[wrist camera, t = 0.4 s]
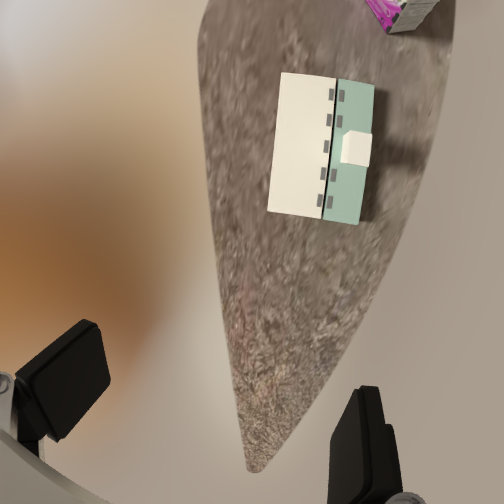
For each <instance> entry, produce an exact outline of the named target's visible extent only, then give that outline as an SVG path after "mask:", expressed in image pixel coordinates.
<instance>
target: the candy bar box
mask: <svg viewBox="0 0 504 504" xmlns="http://www.w3.org/2000/svg"><path fill="white" fill-rule="evenodd" d="M365 1H366V2H367V4H368V5H369V7H370V8H371V10H372V11H373V13H374V14H375V16H376V17H377V19H378V21H379V22H380V24H381V26H382V27H383V29H384V31H385V32H386V34H391V33H396V32H401V31H410V30H416V29H417V28H418V26H419V25H420V24H421V23H422V21H423V20H424V19H425V18H426V17H427V15H428V14H429V13H430V12H431V11H432V9H433V8H434V7H435V6H436V5H437V4H438V2H439V1H440V0H365Z"/></svg>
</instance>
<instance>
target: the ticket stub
mask: <svg viewBox="0 0 504 504" xmlns="http://www.w3.org/2000/svg"><path fill="white" fill-rule="evenodd" d="M373 101H374V85H370V84H365V83H360V82H355V81H349V80H344V79H339V80H338V83H337V95H336V107H335V118H334V129H333V139H332V148H331V157H330V165H329V173H328V181H327V189H326V196H325V203H324V210H323V219H324V220H330V221H336V222H342V223H349V224H355V225H358V223H359V217H360V211H361V205H362V199H363V192H364V185H365V178H366V171H367V167H369V161H370V152H371V143H372V134H371V126H372V114H373Z"/></svg>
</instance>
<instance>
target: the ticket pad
mask: <svg viewBox="0 0 504 504" xmlns="http://www.w3.org/2000/svg"><path fill="white" fill-rule="evenodd" d="M335 85H336V79H334V78H328V77H320V76H312V75H303V74H293V73H281V83H280V93H279V103H278V114H277V124H276V134H275V143H274V153H273V163H272V172H271V182H270V191H269V201H268V210H267V211H271V212H279V213H286V214H293V215H300V216H306V217H313V218H320V219H321V212H322V205H323V198H324V191H325V183H326V176H327V168H328V159H329V151H330V141H331V132H332V122H333V111H334V99H335Z"/></svg>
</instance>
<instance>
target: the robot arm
mask: <svg viewBox="0 0 504 504" xmlns="http://www.w3.org/2000/svg"><path fill="white" fill-rule="evenodd" d="M15 376H16V379H15V380H14V379H13V377H12V376H11V375H10V374H9V373H7V372H0V504H111V503H109V502H108V501H106V500H104V499H102V498H100V497H98V496H96V495H95V494H93V493H91V492H89V491H88V490H86V489H84V488H83V487H81V486H79V485H78V484H76V483H74V482H73V481H71V480H70V479H68V478H66V477H65V476H63V475H62V474H60V473H59V472H57V471H56V470H54V469H53V468H52V467H50V466H49V465H47V464H46V463H45V457H44V441H43V437H44V436H45V435H46V434H47V436H48V437H49V438H51V439H52V440H54V441H55V442H57V443H58V442H59V440H60V439H63V438H65V437H66V436H67V435H68V434H69V432H70V431H71V430H72V429H73V428H74V426H75V425H76V424H77V423H78V422H79V421H80V419H81V418H82V417H83V416H84V415H85V413H86V412H87V411H88V410H89V408H91V406H92V405H93V404H94V403H95V402H96V400H97V399H98V398H99V397H100V396H101V395H102V393H103V392H104V391H105V390H106V389H107V387H108V386H109V385H110V381H111V378H110V374H109V370H108V365H107V361H106V356H105V351H104V346H103V342H102V336H101V331H100V329H99V328H98V326H97V324H96V323H93V322H91V321H88V320H86V319H82V320H81V321H79V322H78V323H77V324H75V325H74V326H73V327H72V328H70V329H69V330H68V331H66V332H65V333H64V334H63V335H62V336H60V337H59V338H58V339H56V340H55V341H54V342H53V343H51V344H50V345H49V346H48V347H47V348H45V349H44V350H43V351H41V352H40V353H39V354H38V355H37V356H35V357H34V358H33V359H32V360H30V361H29V362H28V363H27V364H26V365H24V366H23V367H22V368H21V369H20V370H18V371H17V372H16V373H15ZM327 504H426V503H425V501H424V500H423V498H421V497H420V496H419V495H417V494H414V493H410V492H403V487H402V479H401V471H400V464H399V458H398V452H397V445H396V440H395V434H394V429H393V426H392V425H391V424H385V419H384V413H383V407H382V402H381V397H380V392H379V389H378V387H376V386H364V385H362V386H361V387H360V388H359V389H355V390H354V391H353V393H352V396H351V398H350V400H349V402H348V404H347V406H346V408H345V410H344V413H343V414H342V417H341V418H340V421H339V423H338V425H337V426H336V428H335V431H334V432H333V434H332V437H331V441H330V462H329V484H328V499H327Z"/></svg>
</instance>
